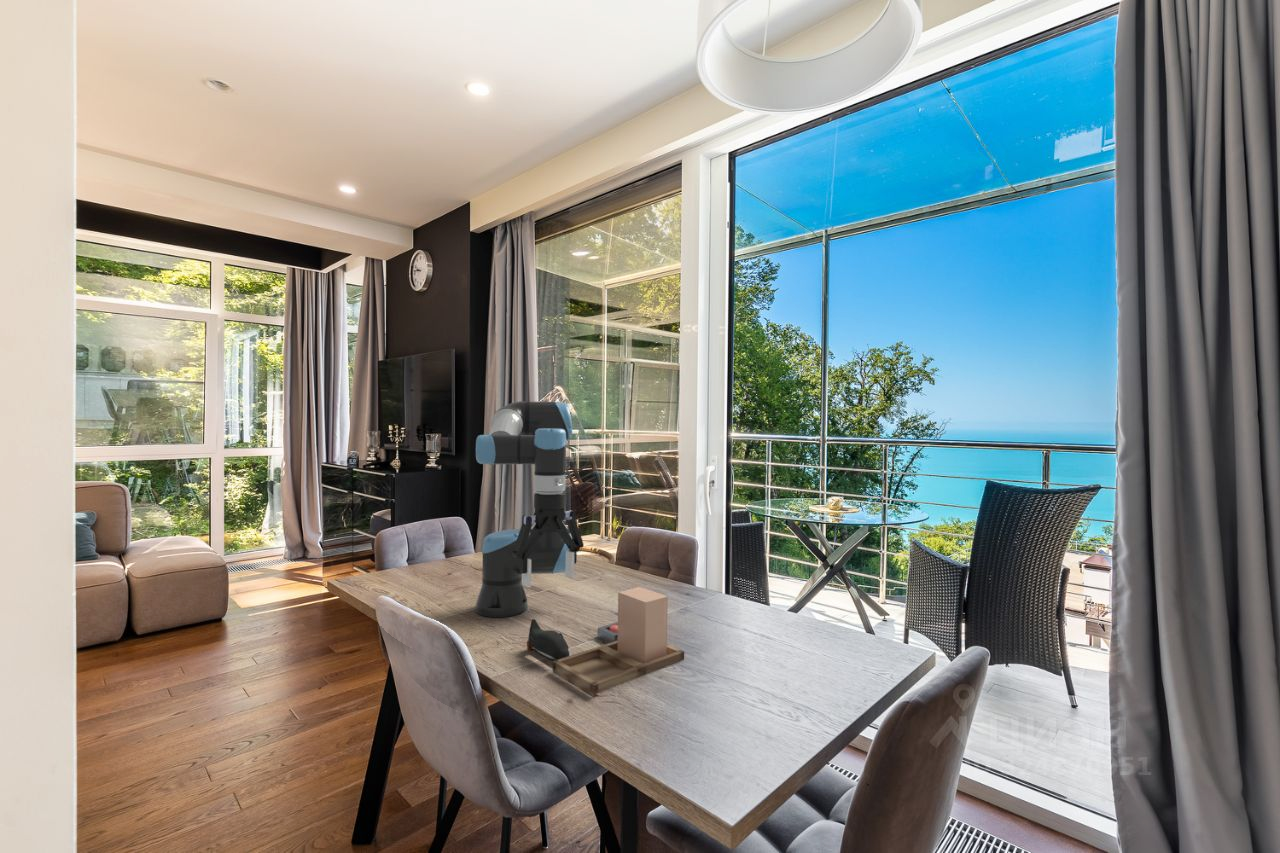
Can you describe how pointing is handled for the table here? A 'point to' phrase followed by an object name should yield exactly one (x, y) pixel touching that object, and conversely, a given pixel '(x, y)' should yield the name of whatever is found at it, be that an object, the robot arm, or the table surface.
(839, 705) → the table surface
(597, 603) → the table surface
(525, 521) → the robot arm
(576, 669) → the wooden divided tray
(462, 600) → the table surface
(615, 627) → the stop button
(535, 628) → the figurine
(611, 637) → the button collar
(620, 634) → the tan block
